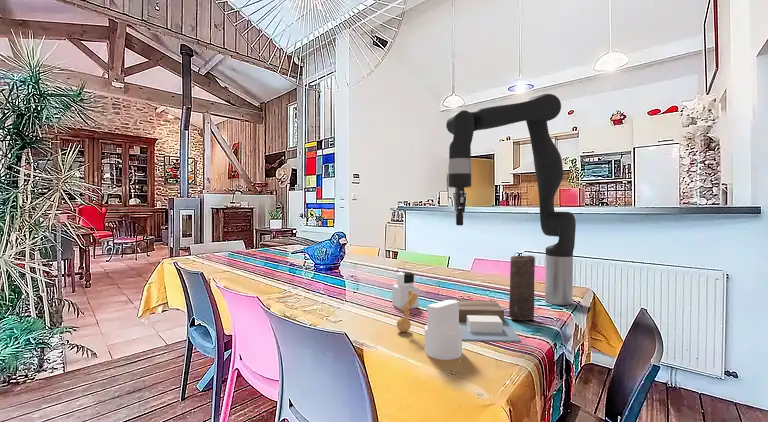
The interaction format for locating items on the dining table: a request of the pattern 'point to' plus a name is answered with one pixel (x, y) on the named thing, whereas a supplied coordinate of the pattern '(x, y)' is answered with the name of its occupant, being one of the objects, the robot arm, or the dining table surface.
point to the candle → (522, 287)
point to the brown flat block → (479, 309)
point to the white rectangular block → (484, 324)
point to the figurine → (404, 323)
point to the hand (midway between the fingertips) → (459, 225)
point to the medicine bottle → (404, 290)
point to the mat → (489, 334)
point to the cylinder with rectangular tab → (443, 331)
